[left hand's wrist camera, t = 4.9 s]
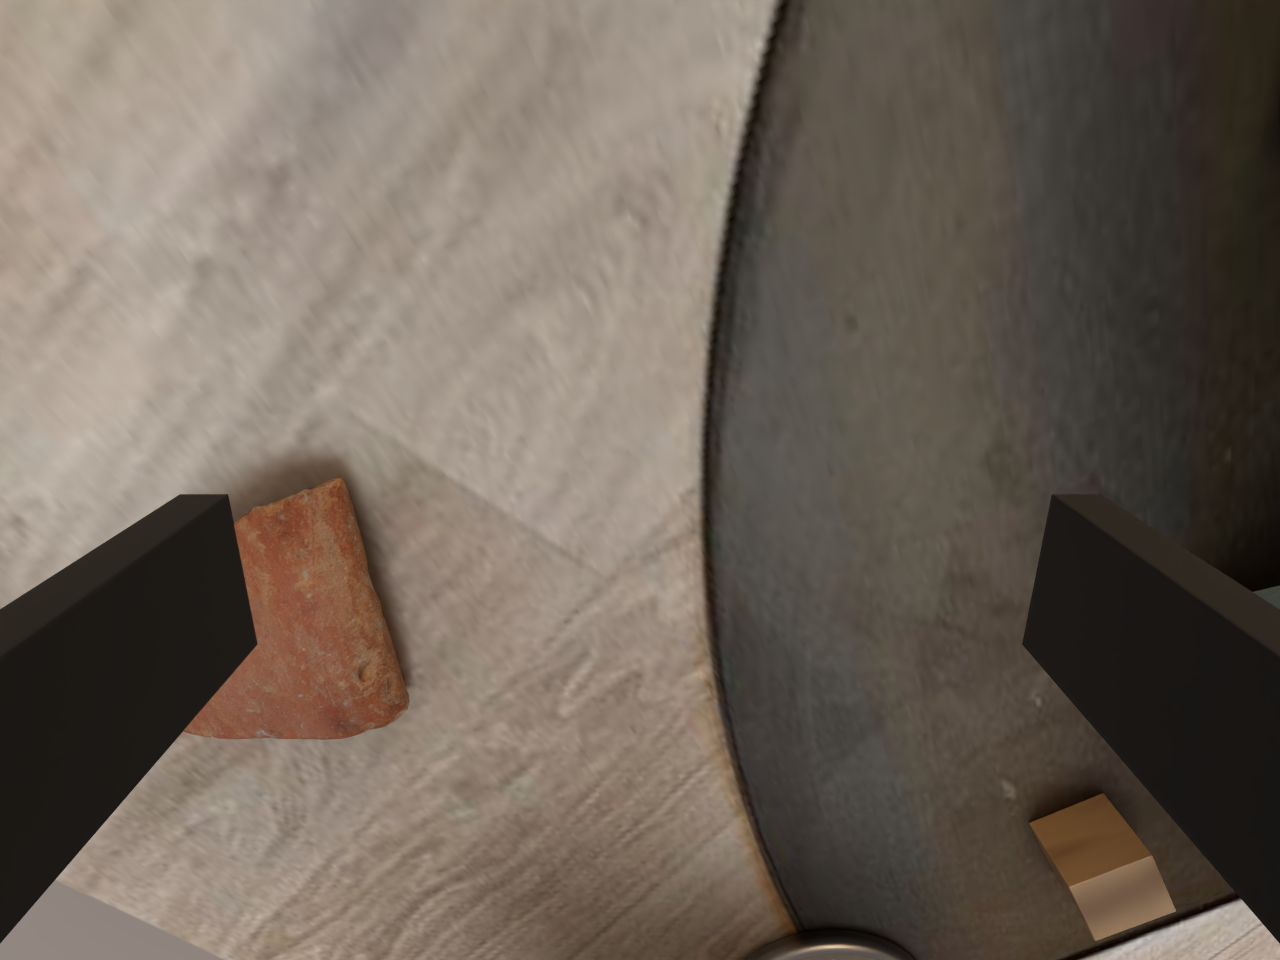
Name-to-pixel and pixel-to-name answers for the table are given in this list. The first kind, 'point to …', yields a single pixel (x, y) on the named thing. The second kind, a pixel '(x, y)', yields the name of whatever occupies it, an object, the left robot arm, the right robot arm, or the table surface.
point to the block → (1102, 867)
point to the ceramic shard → (308, 629)
